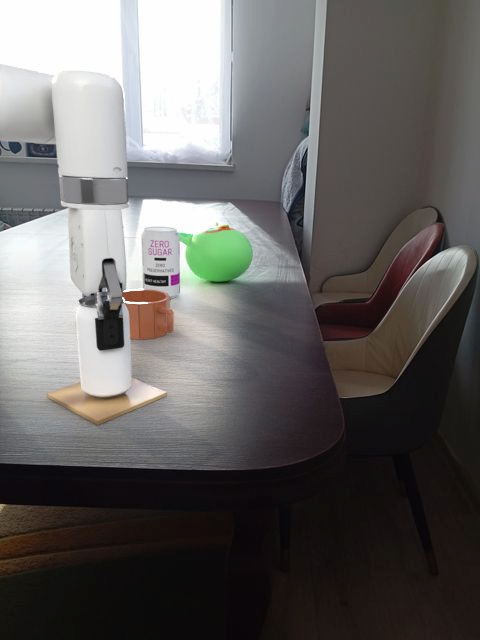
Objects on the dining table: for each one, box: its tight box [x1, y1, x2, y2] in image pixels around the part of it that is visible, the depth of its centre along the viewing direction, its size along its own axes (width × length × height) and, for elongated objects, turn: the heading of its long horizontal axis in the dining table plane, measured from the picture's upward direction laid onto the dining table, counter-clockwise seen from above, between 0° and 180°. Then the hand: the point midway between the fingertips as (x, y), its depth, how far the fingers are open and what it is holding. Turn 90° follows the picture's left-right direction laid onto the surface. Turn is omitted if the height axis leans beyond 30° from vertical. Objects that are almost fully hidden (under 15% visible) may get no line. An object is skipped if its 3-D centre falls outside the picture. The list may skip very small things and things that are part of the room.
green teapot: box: [177, 221, 254, 283], centre depth 132 cm, size 18×17×15 cm
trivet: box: [46, 377, 168, 426], centre depth 68 cm, size 11×11×1 cm
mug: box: [122, 288, 175, 340], centre depth 92 cm, size 13×10×6 cm
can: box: [75, 295, 133, 397], centre depth 66 cm, size 6×6×12 cm
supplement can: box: [140, 226, 181, 300], centre depth 115 cm, size 8×8×15 cm
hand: (103, 337), depth 66 cm, fingers closed on can, 6 cm apart
